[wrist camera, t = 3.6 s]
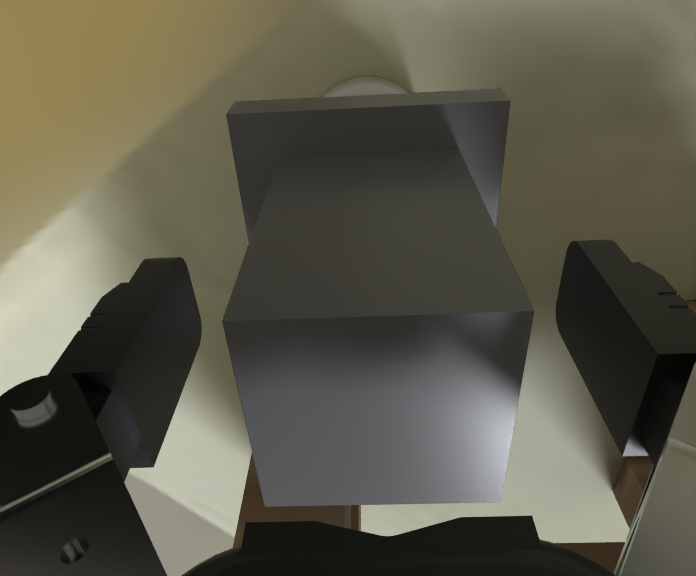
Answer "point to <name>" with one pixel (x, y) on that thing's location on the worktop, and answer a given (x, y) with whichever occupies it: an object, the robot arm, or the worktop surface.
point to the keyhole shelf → (350, 515)
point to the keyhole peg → (376, 296)
